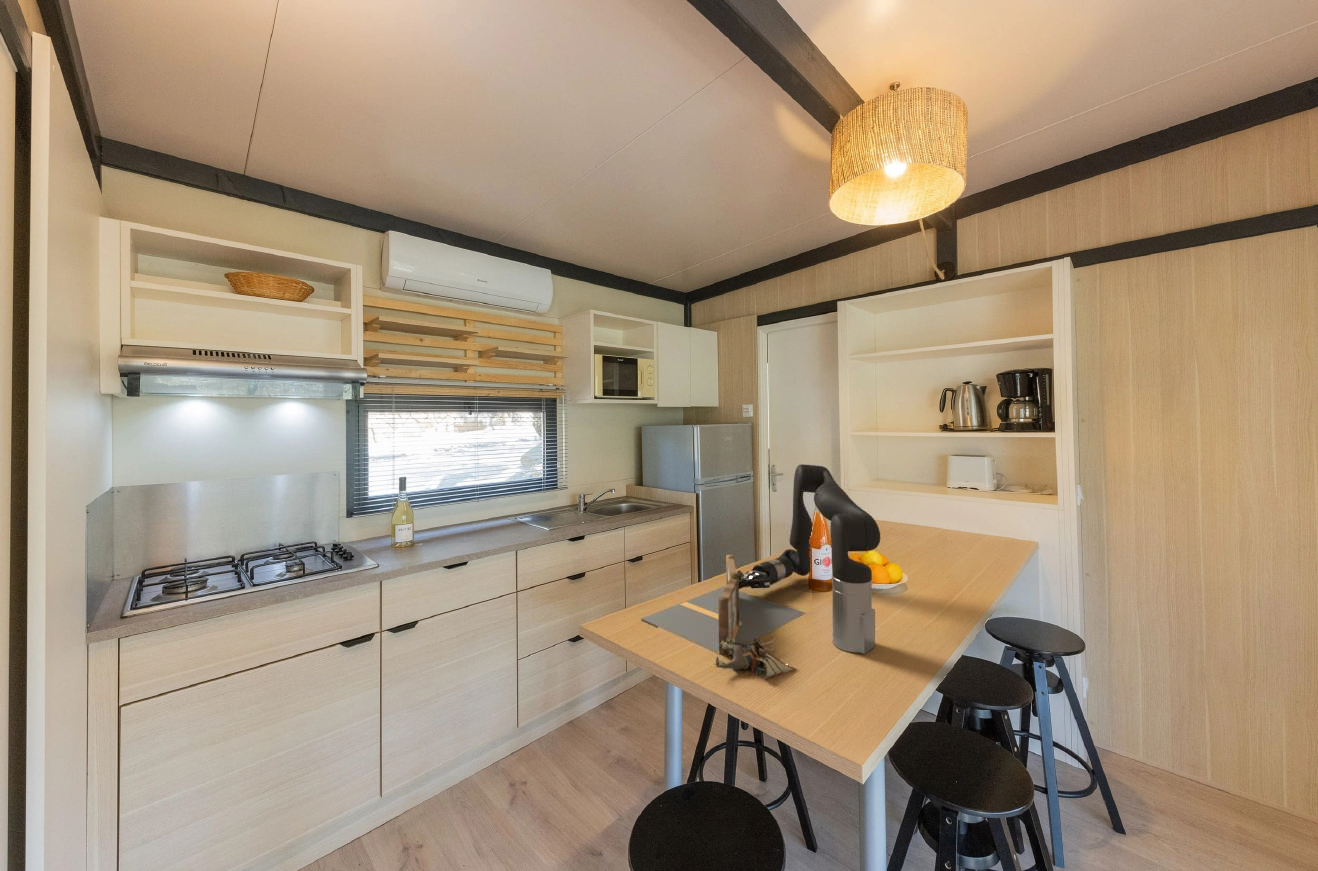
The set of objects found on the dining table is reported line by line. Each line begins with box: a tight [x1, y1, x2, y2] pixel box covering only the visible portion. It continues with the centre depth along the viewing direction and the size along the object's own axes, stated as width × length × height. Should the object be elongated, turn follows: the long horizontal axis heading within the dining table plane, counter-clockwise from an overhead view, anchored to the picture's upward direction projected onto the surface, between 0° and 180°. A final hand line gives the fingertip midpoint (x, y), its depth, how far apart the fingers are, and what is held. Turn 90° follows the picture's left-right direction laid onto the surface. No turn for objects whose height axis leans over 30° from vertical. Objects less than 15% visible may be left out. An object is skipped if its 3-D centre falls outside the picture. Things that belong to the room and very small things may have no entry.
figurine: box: [714, 636, 798, 681], centre depth 111 cm, size 20×6×17 cm
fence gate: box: [725, 554, 737, 587], centre depth 146 cm, size 20×2×13 cm, turn 175°
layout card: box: [640, 586, 806, 657], centre depth 140 cm, size 31×37×1 cm
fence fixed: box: [718, 573, 740, 656], centre depth 126 cm, size 20×2×14 cm, turn 162°
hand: (735, 585), depth 148 cm, fingers closed
